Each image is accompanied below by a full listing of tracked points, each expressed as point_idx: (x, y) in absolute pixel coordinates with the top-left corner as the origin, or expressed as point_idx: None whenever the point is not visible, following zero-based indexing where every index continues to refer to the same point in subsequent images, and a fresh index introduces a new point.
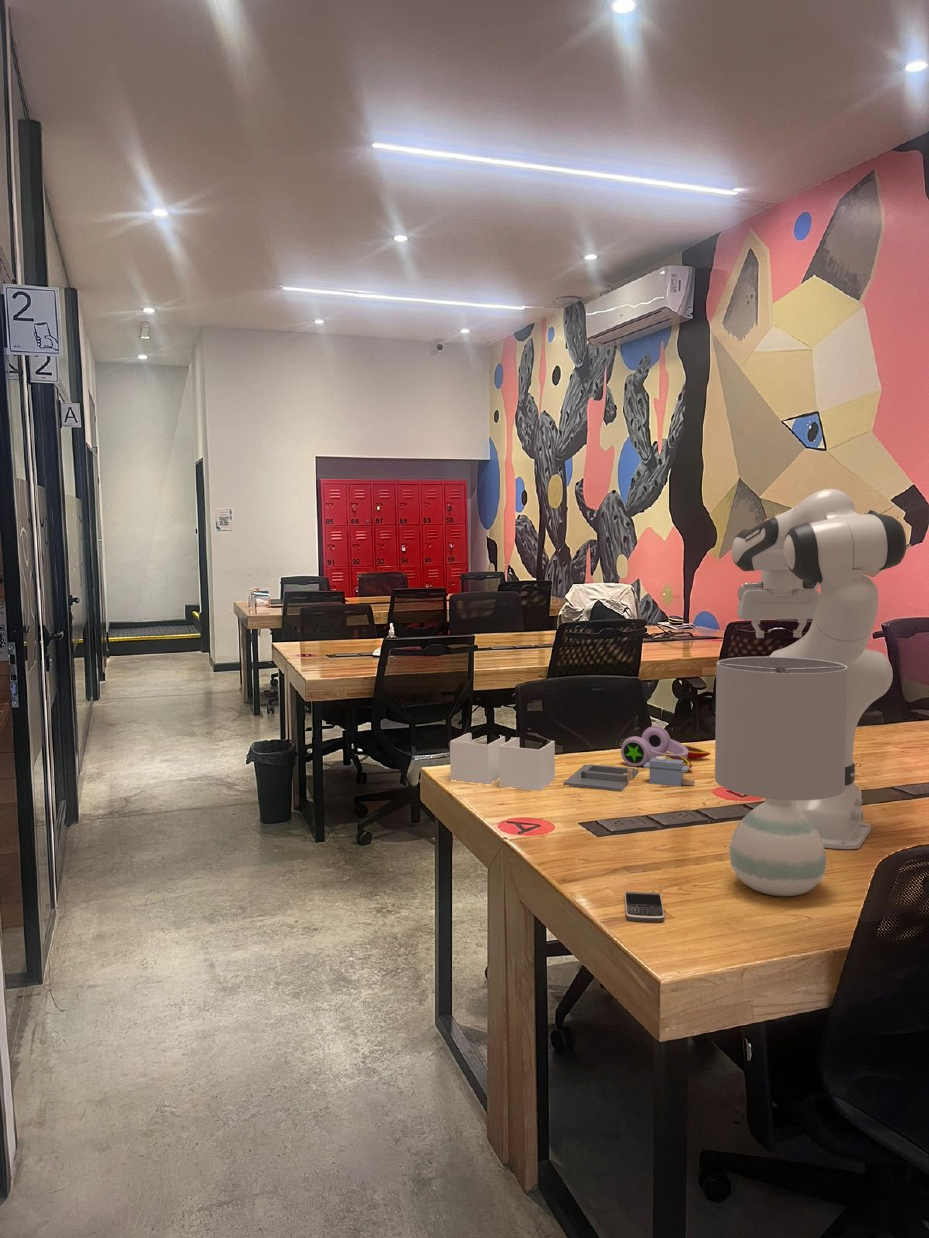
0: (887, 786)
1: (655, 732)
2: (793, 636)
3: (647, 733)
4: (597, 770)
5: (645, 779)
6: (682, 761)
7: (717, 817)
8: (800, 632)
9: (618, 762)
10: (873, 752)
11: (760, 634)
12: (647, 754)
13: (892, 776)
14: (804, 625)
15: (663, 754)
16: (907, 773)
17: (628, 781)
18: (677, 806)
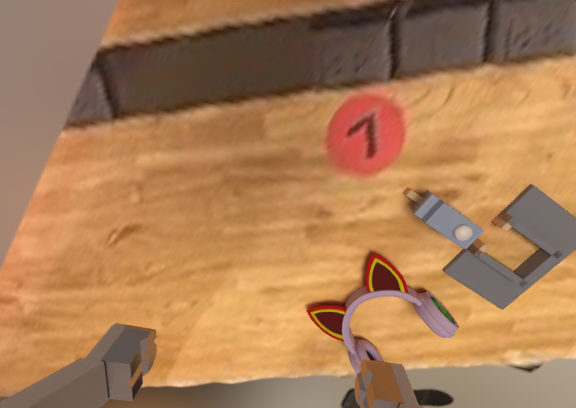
0: (119, 123)
1: None
2: (155, 355)
3: None
4: (513, 272)
5: None
6: (432, 215)
7: (478, 12)
8: (105, 346)
9: None
10: (62, 289)
11: (395, 378)
12: (425, 298)
13: (87, 172)
14: (31, 391)
15: (403, 292)
16: (58, 182)
17: (494, 222)
18: (500, 88)
